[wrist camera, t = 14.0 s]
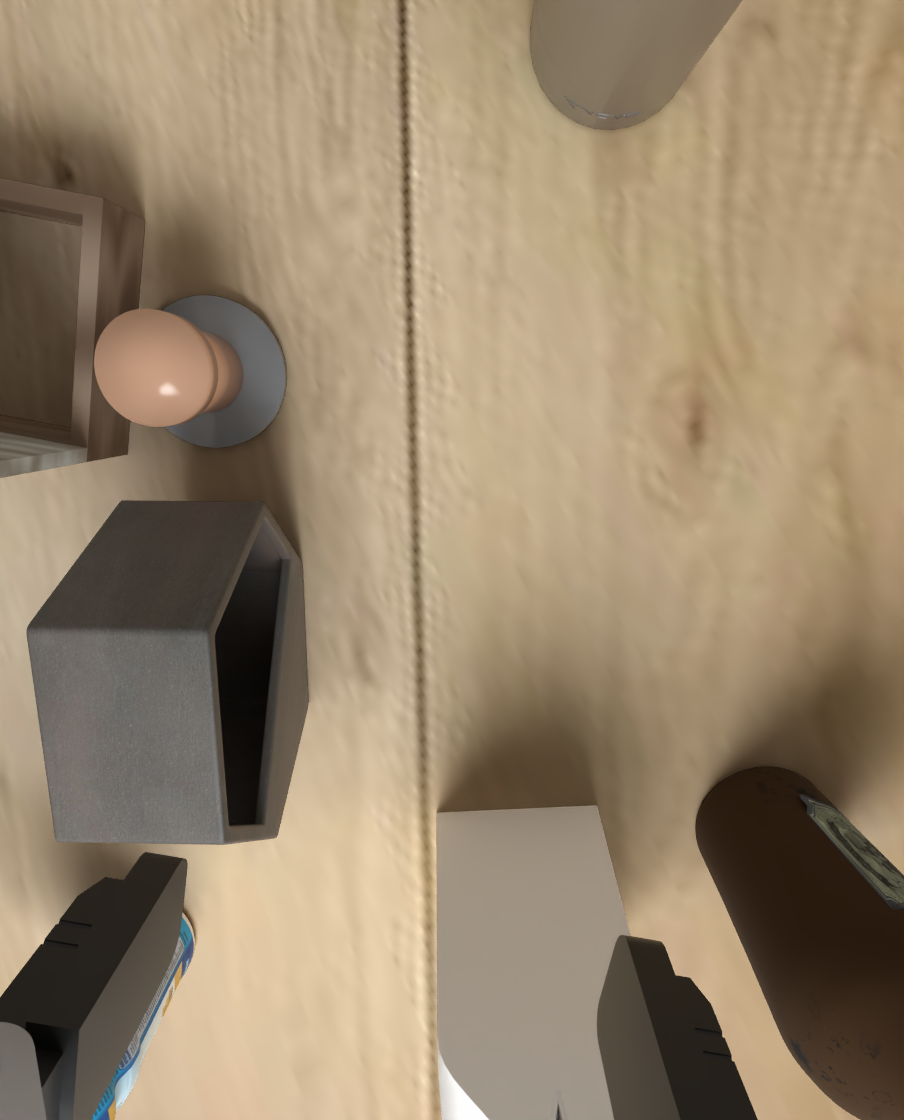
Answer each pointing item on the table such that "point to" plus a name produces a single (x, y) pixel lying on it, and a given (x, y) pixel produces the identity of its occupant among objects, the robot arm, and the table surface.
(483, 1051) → the milk
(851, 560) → the table surface
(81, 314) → the hinged wooden box
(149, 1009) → the beverage bottle
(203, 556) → the planter
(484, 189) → the table surface
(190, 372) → the round cabinet knob
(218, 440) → the saucer
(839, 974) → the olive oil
